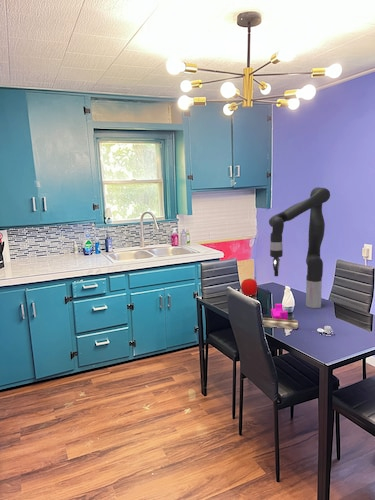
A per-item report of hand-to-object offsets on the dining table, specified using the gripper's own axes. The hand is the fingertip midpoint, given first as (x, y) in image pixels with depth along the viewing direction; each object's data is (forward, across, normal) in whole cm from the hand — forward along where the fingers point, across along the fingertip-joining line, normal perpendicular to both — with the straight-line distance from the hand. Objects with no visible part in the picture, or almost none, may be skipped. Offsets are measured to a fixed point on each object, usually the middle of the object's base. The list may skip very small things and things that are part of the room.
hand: (276, 276), depth 232 cm
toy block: (+22, -17, -4) cm, 28 cm away
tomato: (+22, +24, +22) cm, 39 cm away
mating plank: (+22, -28, -5) cm, 36 cm away
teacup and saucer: (+23, -27, -30) cm, 47 cm away
